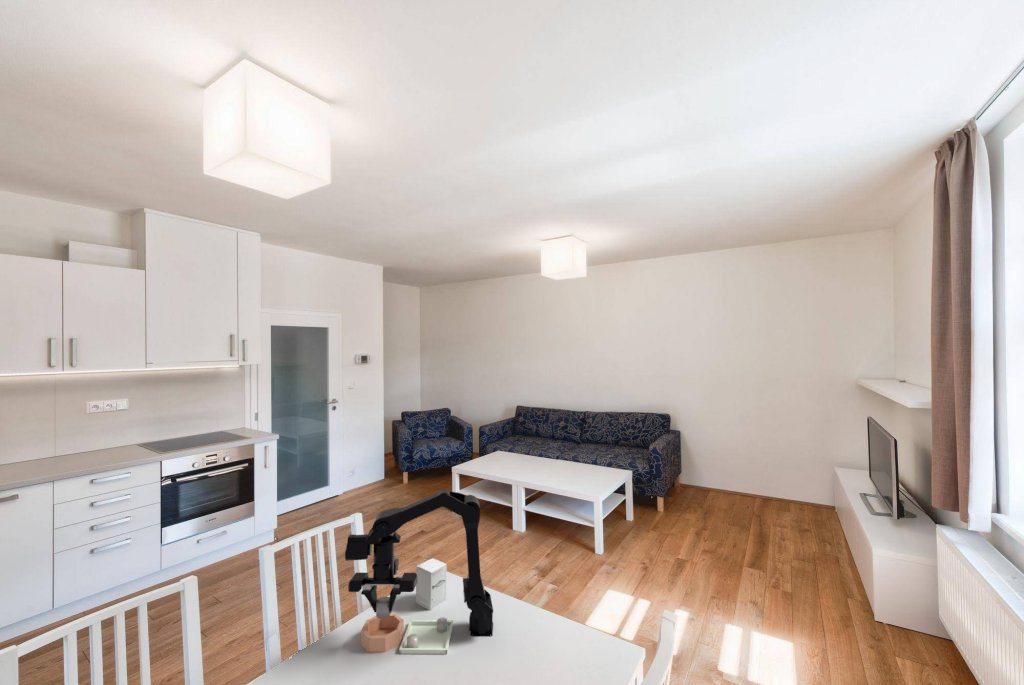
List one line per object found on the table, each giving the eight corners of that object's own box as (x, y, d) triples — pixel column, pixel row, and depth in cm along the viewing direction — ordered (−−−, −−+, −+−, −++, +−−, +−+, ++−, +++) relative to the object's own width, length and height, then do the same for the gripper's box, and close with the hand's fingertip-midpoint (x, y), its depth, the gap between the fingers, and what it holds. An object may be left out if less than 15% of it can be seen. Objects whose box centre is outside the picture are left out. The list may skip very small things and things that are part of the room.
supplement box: (430, 612, 137) (430, 572, 137) (415, 604, 141) (415, 565, 142) (446, 601, 143) (447, 563, 143) (431, 594, 147) (432, 557, 148)
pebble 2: (447, 626, 129) (447, 617, 129) (446, 632, 126) (446, 623, 126) (437, 626, 129) (437, 617, 129) (436, 632, 126) (436, 623, 126)
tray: (453, 625, 130) (453, 620, 130) (447, 655, 118) (447, 649, 118) (410, 625, 130) (410, 620, 130) (399, 655, 118) (399, 649, 118)
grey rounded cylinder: (392, 610, 126) (392, 596, 126) (388, 618, 122) (388, 604, 122) (378, 610, 126) (378, 596, 126) (374, 618, 122) (374, 604, 122)
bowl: (406, 628, 129) (406, 613, 129) (396, 653, 118) (396, 638, 118) (370, 627, 129) (370, 613, 129) (356, 653, 118) (357, 637, 118)
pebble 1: (418, 643, 121) (419, 634, 121) (416, 651, 118) (416, 641, 118) (408, 643, 121) (408, 633, 121) (405, 651, 118) (405, 641, 118)
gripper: (421, 544, 132) (421, 595, 132) (361, 544, 132) (361, 595, 132) (413, 562, 121) (412, 618, 121) (347, 562, 121) (347, 618, 121)
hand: (383, 611), depth 124 cm, fingers closed on grey rounded cylinder, 4 cm apart
